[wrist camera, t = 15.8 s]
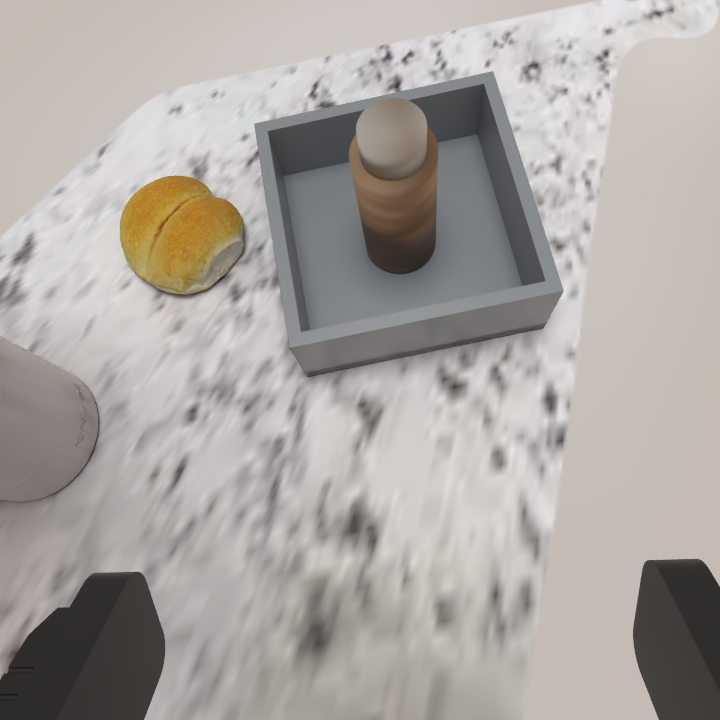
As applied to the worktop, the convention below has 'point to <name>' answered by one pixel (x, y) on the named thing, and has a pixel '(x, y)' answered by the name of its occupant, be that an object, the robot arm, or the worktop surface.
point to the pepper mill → (396, 184)
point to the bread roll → (180, 235)
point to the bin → (453, 235)
